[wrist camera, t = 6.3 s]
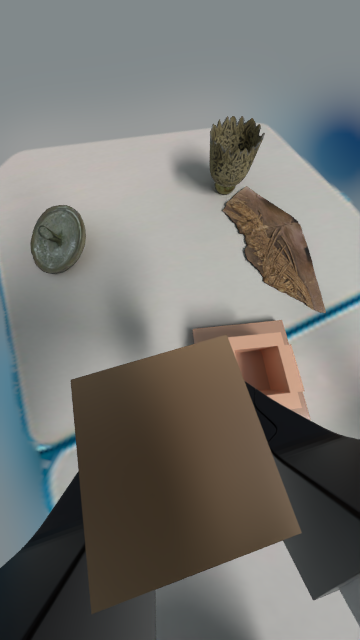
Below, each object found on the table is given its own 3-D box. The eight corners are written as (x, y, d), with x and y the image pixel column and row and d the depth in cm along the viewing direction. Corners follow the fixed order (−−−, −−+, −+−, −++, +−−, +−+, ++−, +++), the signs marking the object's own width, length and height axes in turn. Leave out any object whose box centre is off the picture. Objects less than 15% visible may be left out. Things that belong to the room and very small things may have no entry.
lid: (109, 248, 28) (94, 222, 23) (60, 288, 26) (32, 269, 21) (70, 215, 30) (49, 185, 26) (22, 250, 28) (-11, 225, 24)
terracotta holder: (304, 418, 20) (342, 432, 16) (204, 429, 20) (211, 446, 15) (277, 322, 24) (301, 309, 19) (192, 330, 24) (194, 320, 19)
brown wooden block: (202, 399, 15) (302, 533, 2) (168, 410, 15) (91, 613, 2) (192, 365, 16) (226, 334, 3) (160, 374, 16) (70, 380, 3)
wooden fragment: (214, 196, 31) (215, 191, 30) (269, 183, 32) (272, 177, 31) (278, 327, 24) (282, 325, 23) (347, 305, 25) (354, 302, 24)
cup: (201, 176, 33) (207, 116, 25) (239, 173, 33) (256, 112, 25) (207, 206, 30) (215, 150, 23) (248, 202, 31) (270, 145, 23)
